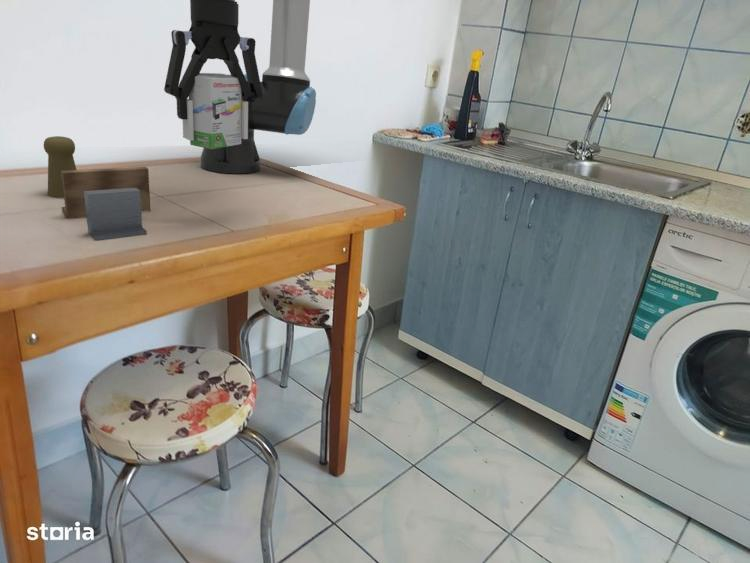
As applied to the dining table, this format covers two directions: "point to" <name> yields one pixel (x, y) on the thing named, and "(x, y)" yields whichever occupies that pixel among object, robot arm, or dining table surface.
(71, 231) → the dining table surface
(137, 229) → the bookend
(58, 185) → the cork
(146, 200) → the brown boxy piece
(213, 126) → the ink box
